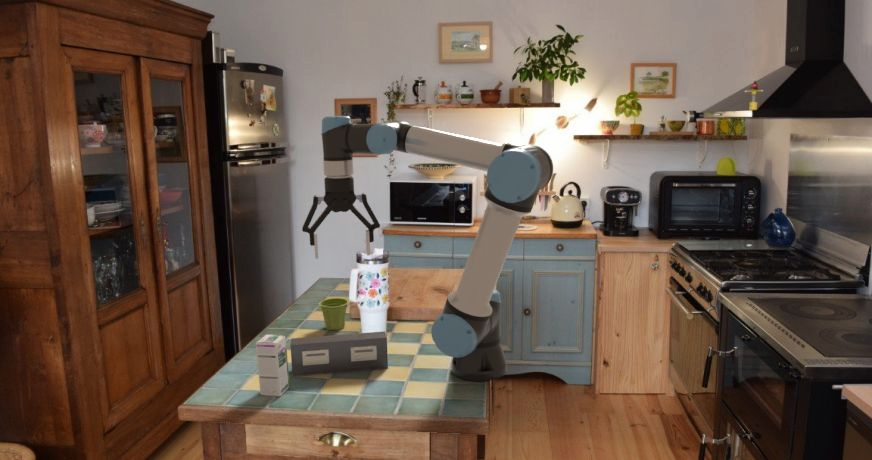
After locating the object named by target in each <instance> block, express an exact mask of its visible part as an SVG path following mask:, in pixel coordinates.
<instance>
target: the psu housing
mask: <svg viewBox="0 0 872 460" xmlns="http://www.w3.org/2000/svg"><path fill="white" fill-rule="evenodd" d="M290 357H291V358H290V359H291V372H292V377H300V376H301V377H302V376H313V375H325V374H335V373H338V374H339V373H346V372H350V373H351V372H358V371H361V372H362V371H371V370H373V371H374V370H383V369H384V368H385V369H389V363H388V362H389V361H388V359H389V358H388V337H387V332H386V331H374V332H371V331H370V332H362V333H361V332H360V333H348V334H347V333H345V334H334V335H319V336H307V337H306V336H305V337H294V338H293V337H292V338H291V339H290ZM385 369H384V370H385Z"/></svg>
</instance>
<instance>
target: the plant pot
mask: <svg viewBox="0 0 872 460" xmlns="http://www.w3.org/2000/svg"><path fill="white" fill-rule="evenodd" d="M348 304H349V300H348V299H346V298H341V297H331V298H326V299H323V300H321V301H320V302H319V303H318V305H319V306H320V309H321V311H322V315H323V320H324V325H325V329H326V330H328V331H334V330H337V331H339V330H342V329H344V328H345V327H346V317H347V316H346V313H347V308H348Z"/></svg>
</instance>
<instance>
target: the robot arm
mask: <svg viewBox="0 0 872 460" xmlns="http://www.w3.org/2000/svg"><path fill="white" fill-rule="evenodd" d="M321 139H322V152H323V153H322V154H323V162H322V163H323V175H324V176H325V177H324V179H323V181H324V182H323V183H324V196H322V195H317V194H315V195H313V198H312V205H311V208H310V210H309V212H308V214H307V216H306V218H305V220H304V222H303V225H302V227H301V231H302V233H303V232H304V233H308V234H309V245H310V246H314V258H315V260H316V259H319V247H318V245H319V244H318V243H319V242H318V231H317V229H318V228H319V227H320V226H321V224H322V223H323V222H324V221H325V220H326V218H327V217H328V215H330V213H331V212H333V213H339V212H342V213H347V212H349V211H350V212H351V213H352V214H354V216H355V217H357V219H358V220H359V221H360V223H362V224H363V225H364V226H365V227H366V228H367V229H365V241H366V242H365V244H366V245H365V248H366V255H367V256H371V243H374V241H375V240H374V231H375V230H376V229H379V228H380V227H381V225H380V222H379V221H378V218H377V217H376V215H375V213H374V211H373V210H372V208H371V206H370V204H369V202H368V199H367V198H368V197H367V195H366V193H365V192H362V193H360V194H355V184H354V183H355V182H354V181H355V179H354V177H353V175H354V161H353V160H354V158H353V154H354V155H355V154H363V155H365V154H367V155H377V156H380V155H391V153H393V152H394V151H397V152H401V153H404V154H411V155H414V156H419V157H422V158H423V157H424V158H427V159H432V160H434V161H435V160H436V161H441V162H445V163H449V164H454V165H457V166H460V167H461V166H462V167H466V168H470V169H474V170H479V171H483V172H486V183H487V187H486V188H485V189H486V190H485V192H484V195H483V197H484V200H485V201H486V203H487V206H486V207H485V211H484V213H483V215H482V220H481V222H480V225H479V227H478V229H477V233H476V236H475V239H474V241H473V244H472V247H471V250H470V253H469V256H468V257H467V260H466V263H465V267H464V269H463V271H462V274H461V278H460V280H459V283H458V285H457V287H456V290H454V291H452V292H449V294H448V295H447V298H446V300H445V303H444V306H443V307H442V308H443V309H442V312H441V314H440V315H438V316H437V317H436V318H435V320H434V321H433V323H432V325H431V328H430V329H431V331H430V332H431V338H432V341H433V342H434V344H435V347H436V348H437V349H438V350H439V351H440V352H441V353H443V354H444V355H446V356H448V357H452V361H451V371H452V374H453V375H454V376H456V377H458V378H460V379H462V380H466V381H472V382H488V381H493V380H498V379H500V378H502V377H504V376H505V375H506V374H508V373H507V372H508V361H507V358H506V355H505V353H504V348H503V346H502V340H501V339H502V331H501V330H502V329H501V328H502V323H501V322H502V317H501V316H502V314H501V313H502V310H501V309H502V301H501V293H500V291H499V290H497V289H495V288H496V286H497V282H498V280H499V278H500V275H501V272H502V269H503V267H504V265H505V262H506V260H507V257H508V254H509V251H510V249H511V246H512V243H513V241H514V239H515V236H516V233H517V231H518V228H519V227H520V223H521V221H522V217H524V216H526V215H528V214H530V213H532V209H533V208H534V205H535V202H536V199H537V197H538V194H539V192H540V191H541V190H543V189H545V187H547V185H548V184H549V183H550V181H551V180H552V177H553V174H554V163H553V159H552V157H551V155H550V154H549V153H548V152H547V151H546V150H545V149H544V148H542V147H540V146H538V145H535V144H525V143H518V142H512V141H505V142H504V143H502V144H501V143H497V142H494V141H493V142H492V141H488V140H483V139H479V138H475V137H469V136H465V135H461V134H455V133H450V132H445V131H441V130H437V129H434V128H433V129H432V128H428V127H422V126H418V125H414V124H413V125H411V124H410V123H408V122H407V121H403V120H392V121H386V122H376V123H359V124H358V123H352V119H351V117H350V116H349V115H330V116H324V117H323V118H322V119H321ZM357 200H358V201H359V203H362V205H363V206H364V208H365V210H366V212H367V214H368V215H369V217H370V219H371V221H372V222H373V223H371V222H370V221H368V219H367V218H366V217H365V216H364V215H363V214H362V213H361V212H360V211H359V210H358V208H356V207H355V205H354V204H355V202H356V201H357ZM322 202H324V203H325V205H326V207H325V209H323V211H322V212H321V214H320V215H319V217H318V218H317V219H316V220H315V222H314V223H313V224H312V225H311V227H310V224H311V222H312V220H313V217H314V215H315V213H316V210H317V209H318V205H321V204H322Z"/></svg>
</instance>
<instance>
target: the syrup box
mask: <svg viewBox="0 0 872 460" xmlns="http://www.w3.org/2000/svg"><path fill="white" fill-rule="evenodd" d="M255 349H256V350H255V351H256V360H257V362H256V363H257V371H258V381H259V392H260V396H265V397H282V395H283V394H284V393H285V392H286V391H287V390H289V389H290V387H291V386H290V384H291V383H290V374H289V373H290V372H289V364H288V363H289V361H288V352H287V351H288V350H287V340H286V335H283V334H264V336H263V337H261V338H260V339H259V340H258V341H256V342H255Z"/></svg>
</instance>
